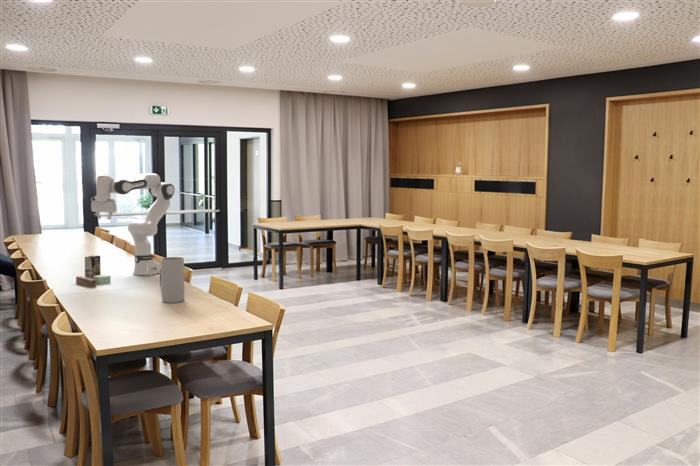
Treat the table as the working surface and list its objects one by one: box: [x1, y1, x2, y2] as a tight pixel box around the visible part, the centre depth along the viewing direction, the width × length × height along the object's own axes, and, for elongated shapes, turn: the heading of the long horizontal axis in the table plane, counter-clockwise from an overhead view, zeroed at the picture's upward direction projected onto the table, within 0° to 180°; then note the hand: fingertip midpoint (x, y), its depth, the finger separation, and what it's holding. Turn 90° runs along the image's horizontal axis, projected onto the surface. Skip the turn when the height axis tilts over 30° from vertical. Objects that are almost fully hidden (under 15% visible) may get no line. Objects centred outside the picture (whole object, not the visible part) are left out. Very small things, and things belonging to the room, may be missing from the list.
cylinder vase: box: [160, 256, 185, 304], centre depth 351 cm, size 12×12×25 cm
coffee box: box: [84, 255, 102, 279], centre depth 417 cm, size 9×6×16 cm
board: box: [75, 275, 97, 288], centre depth 396 cm, size 3×20×4 cm, turn 51°
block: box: [93, 274, 112, 285], centre depth 405 cm, size 8×8×5 cm
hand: (104, 218), depth 414 cm, fingers open, 8 cm apart
